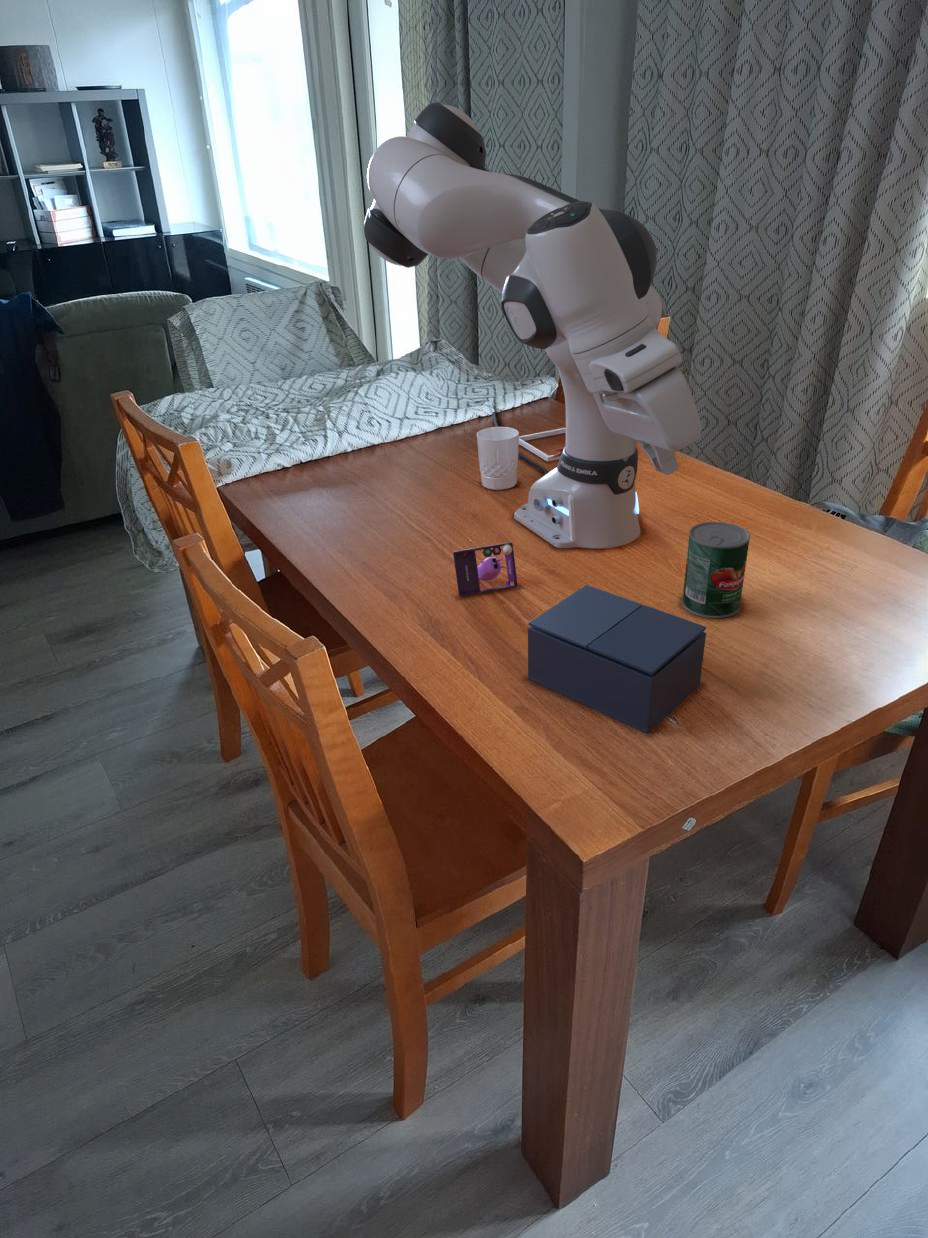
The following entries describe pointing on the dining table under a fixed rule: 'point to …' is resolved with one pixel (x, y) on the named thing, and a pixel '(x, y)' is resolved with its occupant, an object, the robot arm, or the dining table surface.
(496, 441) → the white cup
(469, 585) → the game card
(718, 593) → the canned tomato
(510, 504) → the dining table surface
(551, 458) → the photo frame
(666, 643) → the carton
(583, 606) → the flap
